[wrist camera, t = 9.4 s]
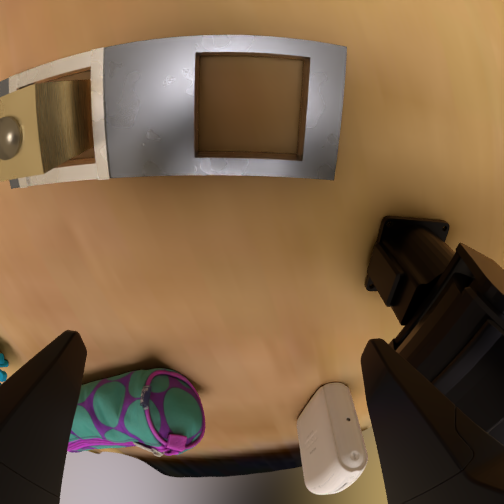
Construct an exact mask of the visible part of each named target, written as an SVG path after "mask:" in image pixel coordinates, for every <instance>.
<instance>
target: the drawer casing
mask: <svg viewBox="0 0 504 504" xmlns="http://www.w3.org/2000/svg"><path fill="white" fill-rule="evenodd" d="M200 56H260V57H275V58H287V59H297V60H304V63H303V79H302V94H301V108H300V122H299V134H298V146H297V154H286V153H267V152H233V151H199V143H198V117H199V65H200ZM346 56H347V47H345V46H340V45H334V44H329V43H322V42H316V41H309V40H301V39H293V38H283V37H271V36H255V35H199V36H182V37H170V38H161V39H152V40H145V41H138V42H132V43H126V44H120V45H115V46H110V47H102V48H98V49H93V50H91V51H88V52H84V53H80V54H76V55H73V56H69V57H66V58H62V59H59V60H56V61H53V62H50V63H46V64H44V65H41V66H38V67H35V68H32V69H30V70H27V71H24V72H22V73H19V74H16V75H13V76H11V77H9V78H7V79H5V80H3V81H1V82H0V97H2V96H4V95H7V94H9V93H12V92H14V91H17V90H19V89H22V88H25V87H28V86H30V85H33V84H38V83H43V82H46V81H50V80H53V79H57V78H60V77H64V76H68V75H71V74H75V73H79V72H84V71H88V70H91V108H92V126H93V139H94V150H95V157H94V158H85V159H76V160H69V161H66V162H64V163H62V164H60V165H59V166H57V167H55V168H53V169H52V170H50V171H48V172H47V173H45V174H42V175H35V176H29V177H23V178H17V179H12V180H10V185H11V189H12V188H19V187H20V188H25V187H29V186H34V185H42V184H50V183H59V182H69V181H80V180H92V179H98V180H105V179H110V178H121V177H141V176H171V175H244V176H274V177H295V178H311V179H325V180H334V176H335V169H336V161H337V153H338V145H339V137H340V128H341V118H342V108H343V97H344V85H345V72H346Z"/></svg>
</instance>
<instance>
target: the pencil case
mask: <svg viewBox="0 0 504 504" xmlns="http://www.w3.org/2000/svg"><path fill="white" fill-rule="evenodd" d="M204 432H205V416H204V411H203V407H202V404H201V400H200V397H199V395H198V393H197V391H196V389H195V388H194V386H193V385H192V384H191V383H190V382H189V380H188V379H187V378H186V377H185V376H183V375H181V374H180V373H178V372H176V371H174V370H170V369H164V368H156V369H150V370H138V371H131V372H128V373H124V374H121V375H118V376H114V377H110V378H105V379H101V380H97V381H94V382H90V383H87V384H84V385H81V391H80V396H79V400H78V404H77V408H76V412H75V416H74V420H73V425H72V429H71V434H70V439H69V443H68V449H67V451H69V452H82V451H87V450H91V449H103V448H121V447H131V446H138V447H140V448H142V449H145V450H147V451H150V452H153V454H154V455H156V456H159V457H160V456H162V455H163V454H165V455H179V454H181V453H183V452H185V451H187V450H189V449H191V448H193V447H195V446H196V445H197V444H198V443H199V442H200V441H201V439H202V438H203V435H204ZM155 452H156V453H155Z"/></svg>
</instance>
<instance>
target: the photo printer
mask: <svg viewBox="0 0 504 504" xmlns="http://www.w3.org/2000/svg"><path fill="white" fill-rule="evenodd" d="M297 431H298V438H299V445H300V452H301V459H302V466H303V473H304V480H305V484H306V487H307V488H308V490H310V491H311V492H312V493H314V494H319V495H326V494H334V493H338V492H340V491H342V490H344V489H346V488H347V487H349V486H350V485H351V484H352V483H353V482H355V481H356V479H357V478H358V477H359V476H360V475H361V474H362V472H363V470H364V469H365V467H366V464H367V461H368V455H367V450H366V447H365V443H364V439H363V436H362V432H361V428H360V424H359V421H358V417H357V414H356V410H355V407H354V403H353V400H352V396H351V392H350V389H349V387H348V386H345V385H344V384H343V383H338V382H337V383H328V384H325V385H324V386H322V387H320V388H319V389H318V390H317V392H316V393H315V394H314V396H313V397H312V398H311V400H310V401H309V403H308V404H307V406H306V407H305V408H304V410H303V412H302V413H301V414H300V416H299V418H298V420H297Z"/></svg>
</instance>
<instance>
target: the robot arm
mask: <svg viewBox="0 0 504 504" xmlns="http://www.w3.org/2000/svg"><path fill="white" fill-rule="evenodd" d="M388 222H390V224H389V225H387V223H388ZM443 227H444V228H443ZM448 231H449V224H448V223H447V222H446V221H442V220H431V219H420V218H408V217H396V216H386V217H385V218H384V219H383V220H382V223H381V227H380V231H379V235H378V239H377V243H376V244H375V245H374V248H373V252H372V256H371V259H370V263H369V266H368V270H367V273H368V275H367V278H366V281H365V287H366V289H367V290H368V291H378V292H379V294H380V296H381V298H382V299H383V301H384V303H385V304H386V306H387V307H391V308H392V309H393V311H394V313H395V315H396V317H397V319H398V320H399V322H400V324H401V325H405V327H404V328H403V329H402V330H401V332H400V333H399V334H398V336H397V337H396V338H395V339H393V340H392V341H391V342H390V343H389V344H388V343H386V342H385V341H384V340H383V339H380V338H378V339H370V340H369V341H368V343H367V345H366V347H365V349H364V351H363V354H362V356H361V367H362V374H363V380H364V387H365V395H366V401H367V407H368V411H369V415H370V419H371V423H372V428H373V432H374V436H375V441H376V445H377V449H378V454H379V459H380V464H381V468H382V473H383V479H384V483H385V489H386V495H387V500H388V504H504V270H503V269H502V268H501V267H500V266H499V265H498V264H497V263H496V262H494V261H493V260H492V259H490V258H488V257H486V256H485V255H483V254H481V253H479V252H477V251H475V250H474V249H472V248H470V247H468V246H466V245H464V244H462V243H459V244H458V246H457V248H456V252H454V251H453V250H452V249H451V248H450V247H449V246H448V245H447V244H446V243H445V240H446V237H447V234H448ZM371 284H372V285H371ZM370 285H371V286H370ZM86 357H87V350H86V347H85V345H84V343H83V340H82V338H81V336H80V334H79V333H78V332H77V331H71V330H66V331H65V332H63V333H62V334H61V335H60V336H58V337H57V338H56V339H55V340H53V341H52V342H51V343H50V344H49V345H47V346H46V347H45V348H44V349H42V350H41V351H40V352H39V353H38V354H36V355H35V356H34V357H33V358H32V359H30V360H29V361H28V362H27V363H26V364H25V365H23V366H22V367H21V368H20V369H19V370H18V371H16V372H15V373H14V374H13V375H12V376H11V377H9V378H8V379H7V380H6V381H5V382H4V383H3V384H1V385H0V504H59V502H60V492H61V484H62V477H63V471H64V465H65V459H66V454H67V449H68V443H69V439H70V434H71V429H72V425H73V420H74V416H75V412H76V408H77V404H78V400H79V396H80V391H81V385H82V379H83V373H84V367H85V362H86Z"/></svg>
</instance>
